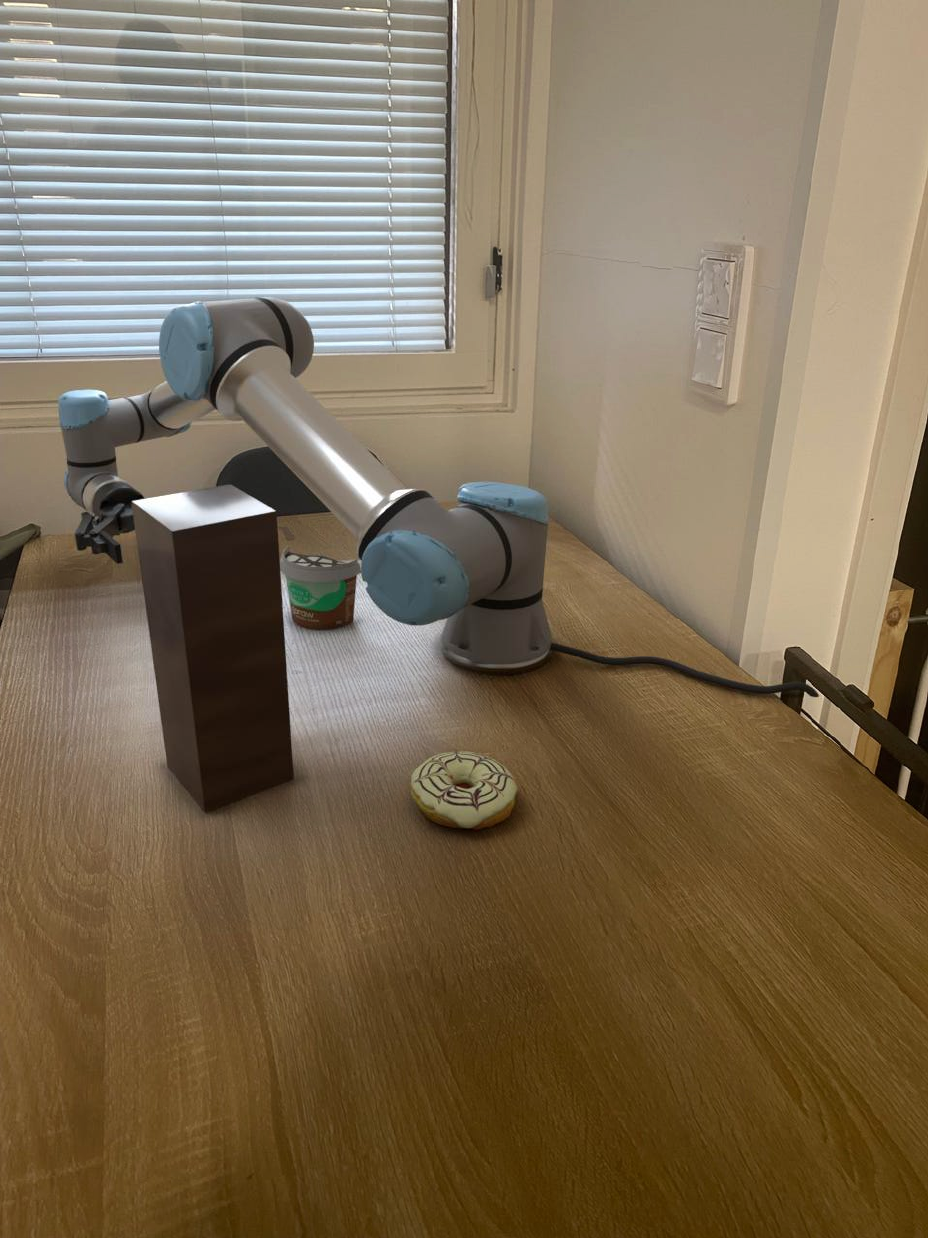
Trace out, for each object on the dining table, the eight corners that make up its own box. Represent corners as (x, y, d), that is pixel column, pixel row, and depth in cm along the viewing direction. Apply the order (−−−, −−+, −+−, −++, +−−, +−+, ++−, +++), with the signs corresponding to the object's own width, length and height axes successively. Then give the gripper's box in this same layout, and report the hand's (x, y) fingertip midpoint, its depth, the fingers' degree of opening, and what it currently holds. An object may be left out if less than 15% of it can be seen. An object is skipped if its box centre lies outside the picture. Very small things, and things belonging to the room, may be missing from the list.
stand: (167, 766, 98) (131, 500, 86) (252, 737, 104) (230, 484, 91) (204, 813, 91) (171, 531, 78) (294, 779, 97) (276, 510, 84)
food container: (266, 624, 131) (261, 559, 126) (289, 607, 136) (285, 545, 131) (341, 640, 127) (339, 574, 122) (362, 623, 132) (360, 559, 127)
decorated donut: (477, 852, 87) (478, 820, 85) (390, 810, 93) (390, 779, 91) (533, 798, 95) (535, 769, 93) (450, 763, 100) (451, 734, 99)
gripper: (193, 512, 152) (250, 551, 137) (36, 542, 138) (80, 588, 123) (189, 469, 149) (246, 503, 134) (27, 494, 135) (71, 536, 120)
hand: (167, 544), depth 128 cm, fingers open, 13 cm apart
